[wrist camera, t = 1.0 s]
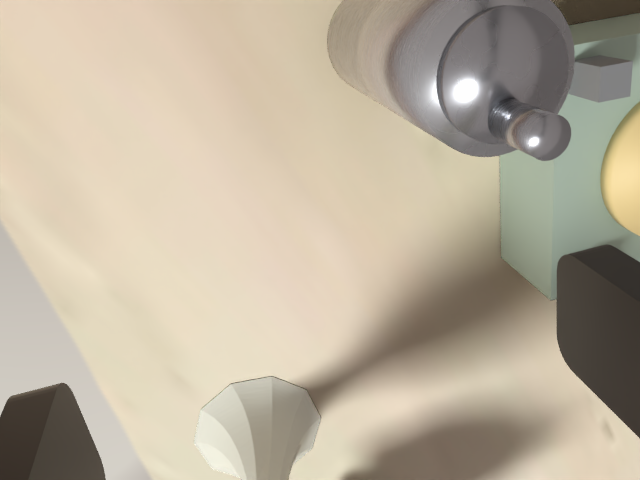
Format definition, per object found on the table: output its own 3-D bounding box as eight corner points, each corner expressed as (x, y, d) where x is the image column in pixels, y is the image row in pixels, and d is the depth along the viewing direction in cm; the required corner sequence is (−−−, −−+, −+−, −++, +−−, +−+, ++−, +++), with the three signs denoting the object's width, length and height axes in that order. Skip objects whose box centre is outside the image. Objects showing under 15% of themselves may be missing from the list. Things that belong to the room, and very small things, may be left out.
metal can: (320, -7, 31) (454, 2, 16) (422, -24, 32) (646, -31, 17) (334, 100, 34) (463, 200, 18) (429, 83, 34) (631, 164, 19)
